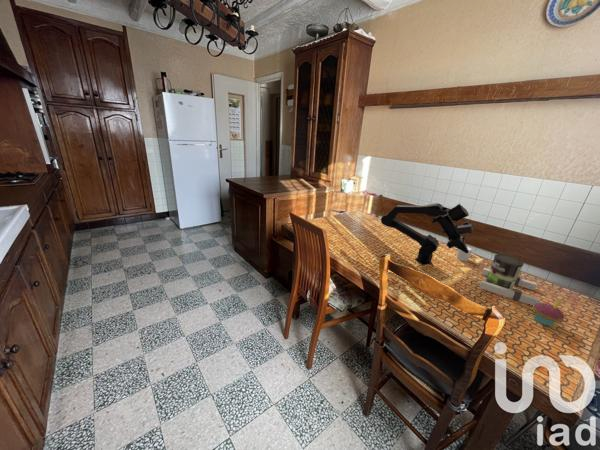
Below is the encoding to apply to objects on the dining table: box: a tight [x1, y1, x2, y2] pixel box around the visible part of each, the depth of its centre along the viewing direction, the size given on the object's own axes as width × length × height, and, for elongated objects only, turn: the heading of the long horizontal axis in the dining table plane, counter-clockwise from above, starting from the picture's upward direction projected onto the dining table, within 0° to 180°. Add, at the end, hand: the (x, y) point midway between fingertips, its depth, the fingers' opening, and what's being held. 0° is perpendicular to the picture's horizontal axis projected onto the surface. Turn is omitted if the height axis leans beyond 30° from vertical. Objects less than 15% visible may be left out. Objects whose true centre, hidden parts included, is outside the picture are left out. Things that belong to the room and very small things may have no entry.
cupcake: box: [531, 296, 565, 327], centre depth 90 cm, size 9×8×12 cm
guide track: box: [478, 267, 541, 306], centre depth 112 cm, size 20×18×4 cm
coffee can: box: [484, 253, 525, 290], centre depth 112 cm, size 10×10×14 cm
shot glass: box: [456, 245, 474, 262], centre depth 137 cm, size 7×7×7 cm
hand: (467, 252), depth 119 cm, fingers closed
